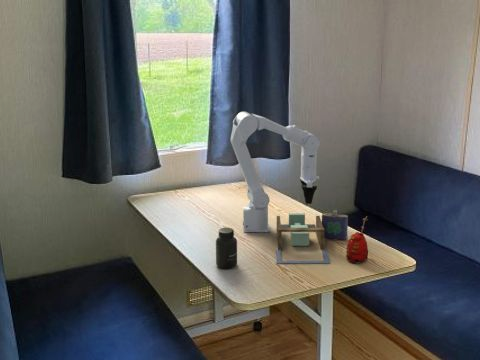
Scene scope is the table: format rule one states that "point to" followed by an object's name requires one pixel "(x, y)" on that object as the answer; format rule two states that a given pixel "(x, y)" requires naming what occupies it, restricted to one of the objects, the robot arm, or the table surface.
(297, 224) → the teal block
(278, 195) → the table surface
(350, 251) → the red clay folk toy
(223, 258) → the supplement bottle
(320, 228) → the tunnel
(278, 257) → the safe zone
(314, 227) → the mat
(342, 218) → the flask
